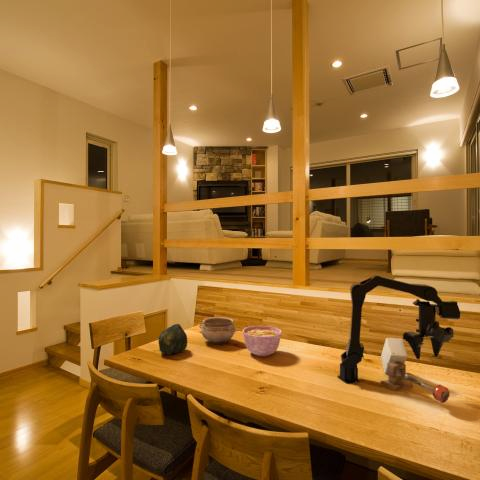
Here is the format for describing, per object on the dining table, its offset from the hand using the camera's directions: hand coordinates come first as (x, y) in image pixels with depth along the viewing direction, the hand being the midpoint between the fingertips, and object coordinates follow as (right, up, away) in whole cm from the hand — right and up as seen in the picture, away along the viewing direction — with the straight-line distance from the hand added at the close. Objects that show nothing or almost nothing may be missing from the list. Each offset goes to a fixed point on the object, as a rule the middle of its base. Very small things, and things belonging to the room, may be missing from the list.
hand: (427, 357), depth 118 cm
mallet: (-7, -9, -9) cm, 14 cm away
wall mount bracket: (-10, -12, +3) cm, 16 cm away
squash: (-107, -12, +38) cm, 115 cm away
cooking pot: (-85, -12, +54) cm, 102 cm away
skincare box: (-7, -10, +16) cm, 20 cm away
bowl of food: (-62, -12, +36) cm, 73 cm away
